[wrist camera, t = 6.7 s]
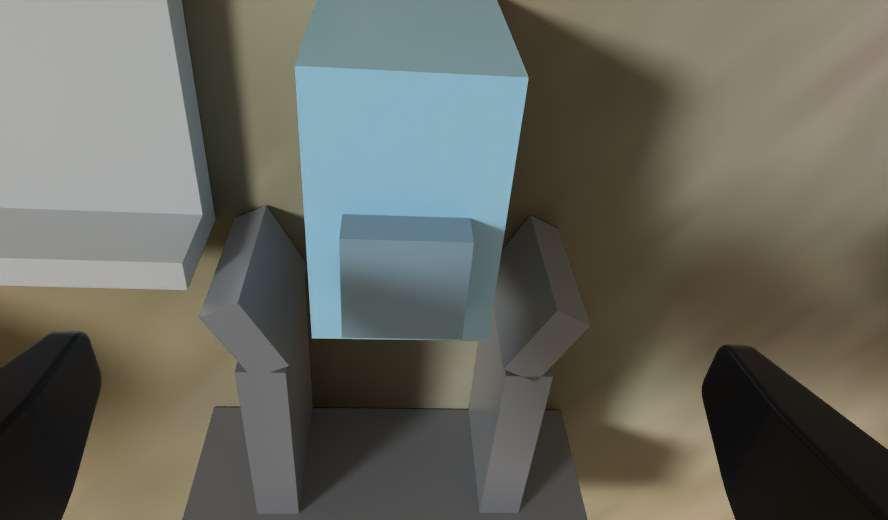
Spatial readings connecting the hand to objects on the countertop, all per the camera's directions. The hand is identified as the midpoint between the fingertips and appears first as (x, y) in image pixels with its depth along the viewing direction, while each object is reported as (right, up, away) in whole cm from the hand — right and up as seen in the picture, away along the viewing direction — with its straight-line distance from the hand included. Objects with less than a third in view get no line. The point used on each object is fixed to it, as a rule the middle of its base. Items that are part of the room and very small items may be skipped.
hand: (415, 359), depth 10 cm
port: (-1, -1, +12) cm, 12 cm away
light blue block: (-1, +5, +7) cm, 9 cm away
